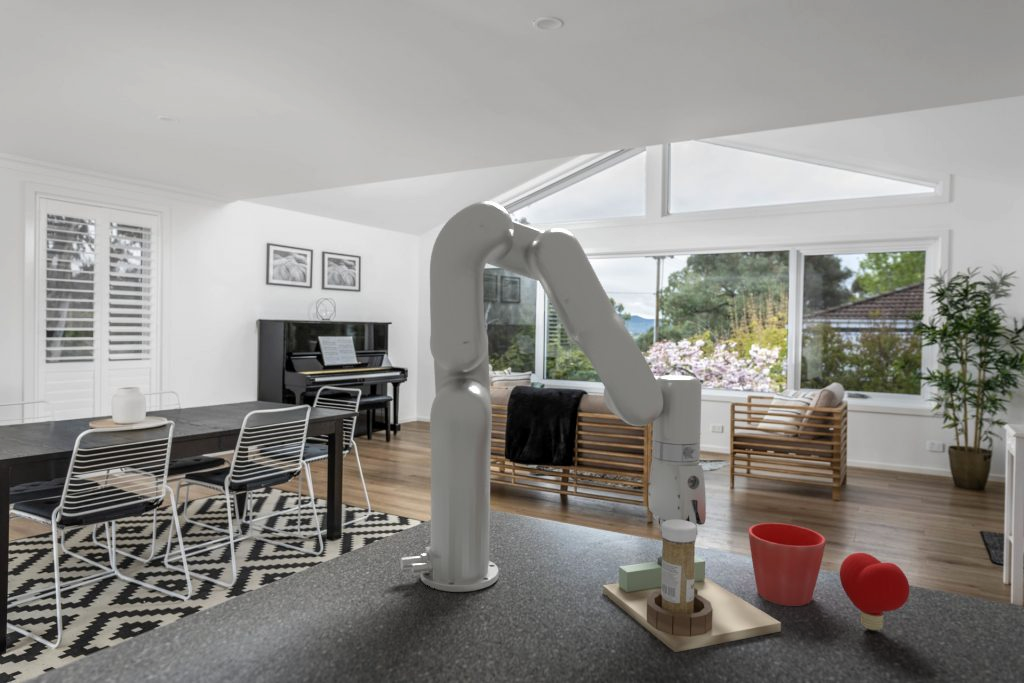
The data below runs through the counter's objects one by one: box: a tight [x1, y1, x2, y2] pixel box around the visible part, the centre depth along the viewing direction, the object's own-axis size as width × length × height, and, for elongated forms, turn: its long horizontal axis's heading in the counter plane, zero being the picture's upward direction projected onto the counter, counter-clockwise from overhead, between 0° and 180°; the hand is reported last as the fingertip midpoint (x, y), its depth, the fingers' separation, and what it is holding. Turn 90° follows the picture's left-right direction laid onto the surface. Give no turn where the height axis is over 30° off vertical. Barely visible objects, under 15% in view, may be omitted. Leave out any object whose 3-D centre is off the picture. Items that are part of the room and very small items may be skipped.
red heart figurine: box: [839, 552, 910, 633], centre depth 91 cm, size 9×7×10 cm
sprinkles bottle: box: [661, 519, 698, 614], centre depth 91 cm, size 5×5×13 cm
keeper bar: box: [618, 555, 706, 592], centre depth 104 cm, size 14×2×4 cm, turn 111°
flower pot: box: [748, 522, 826, 607], centre depth 103 cm, size 11×11×10 cm
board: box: [602, 576, 782, 653], centre depth 97 cm, size 17×19×4 cm
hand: (673, 562), depth 110 cm, fingers closed
